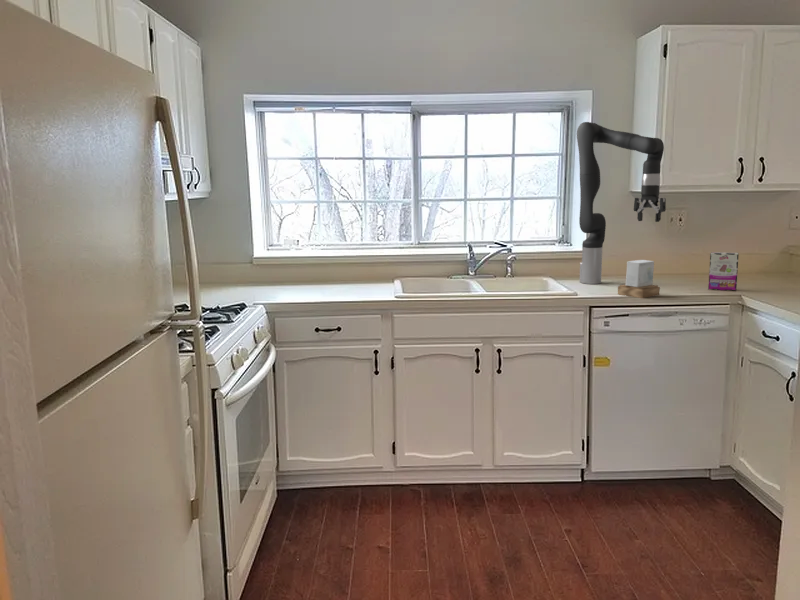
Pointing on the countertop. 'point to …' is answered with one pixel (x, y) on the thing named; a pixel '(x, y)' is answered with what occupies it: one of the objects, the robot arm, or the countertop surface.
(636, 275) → the skincare box
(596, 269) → the robot arm
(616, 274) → the countertop surface
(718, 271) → the candy bar box
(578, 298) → the countertop surface
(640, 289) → the oak plinth
